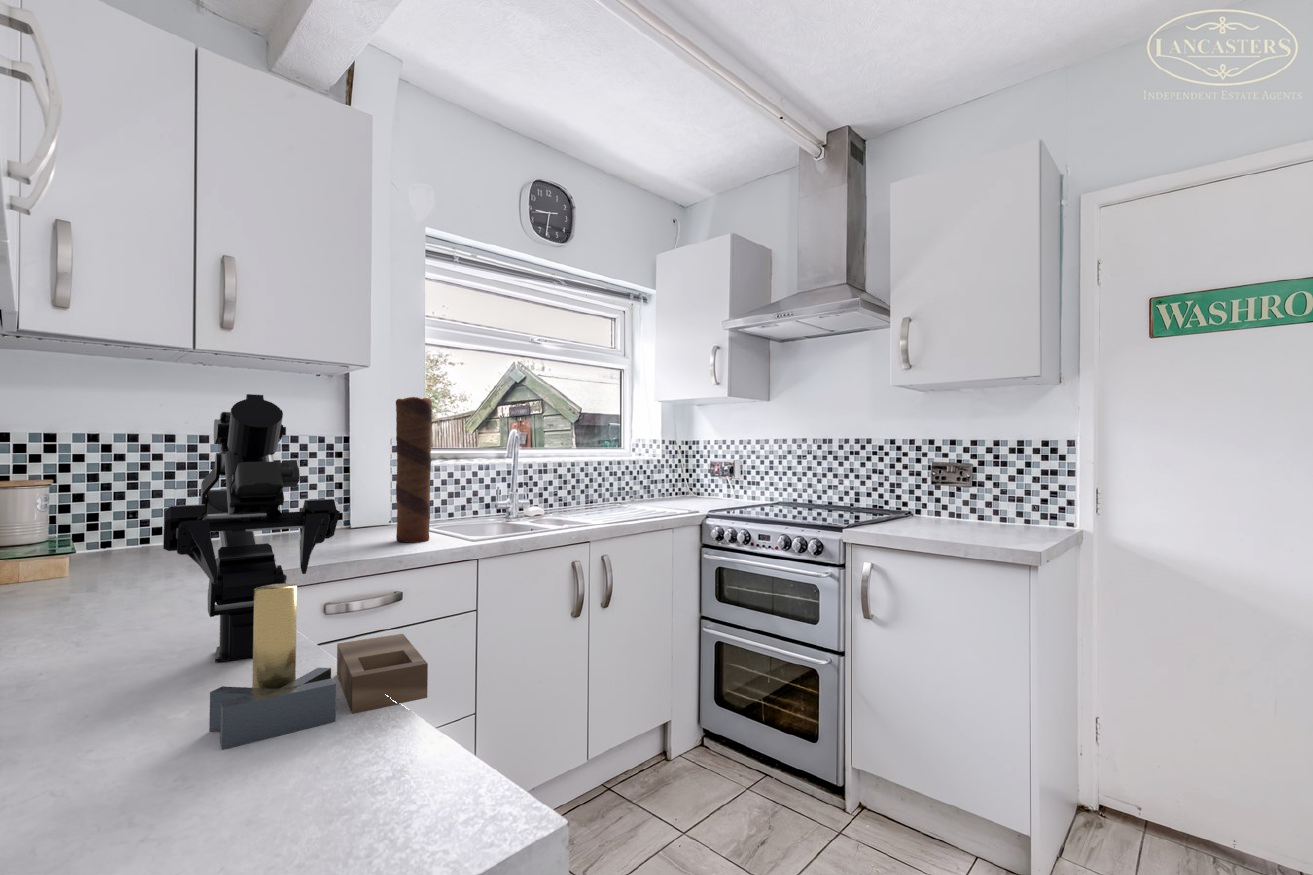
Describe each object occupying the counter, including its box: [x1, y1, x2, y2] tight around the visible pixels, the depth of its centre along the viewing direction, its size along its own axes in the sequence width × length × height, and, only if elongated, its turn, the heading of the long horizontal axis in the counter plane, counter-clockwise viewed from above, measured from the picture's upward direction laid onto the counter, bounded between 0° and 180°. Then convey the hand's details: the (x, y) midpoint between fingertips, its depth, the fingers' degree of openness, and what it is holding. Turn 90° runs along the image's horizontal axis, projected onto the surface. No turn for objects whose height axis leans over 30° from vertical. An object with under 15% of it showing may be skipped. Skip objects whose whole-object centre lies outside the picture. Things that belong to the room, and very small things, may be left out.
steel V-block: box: [208, 667, 337, 750], centre depth 66 cm, size 7×11×4 cm, turn 129°
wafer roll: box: [395, 396, 433, 543], centre depth 196 cm, size 10×11×45 cm
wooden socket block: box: [336, 633, 429, 714], centre depth 77 cm, size 14×8×4 cm, turn 33°
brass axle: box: [251, 583, 298, 689], centre depth 68 cm, size 4×4×14 cm
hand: (261, 576), depth 76 cm, fingers open, 9 cm apart
